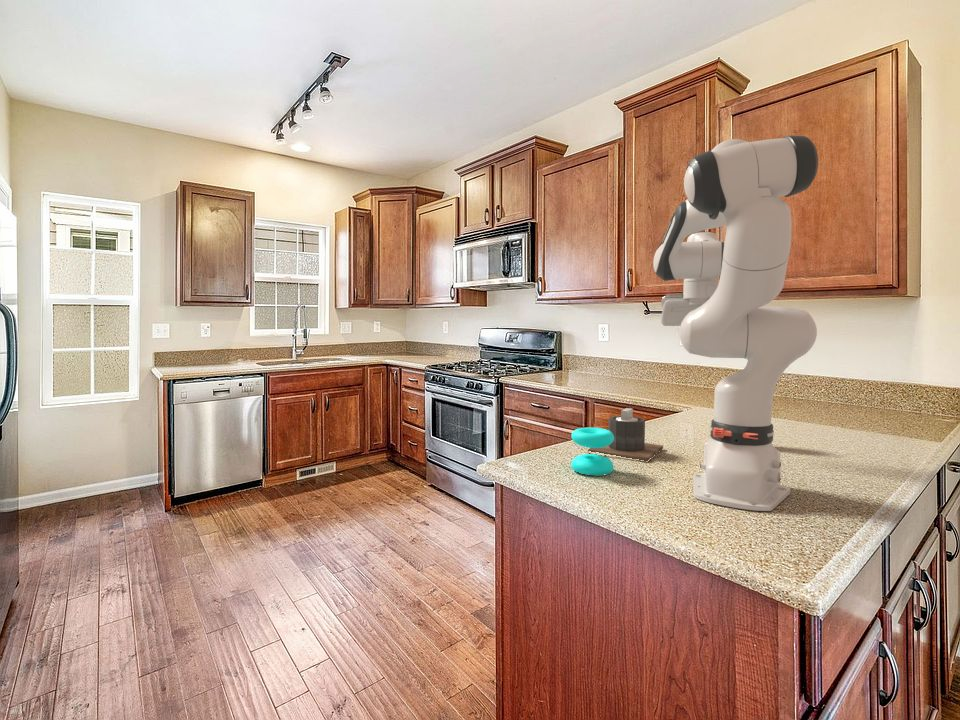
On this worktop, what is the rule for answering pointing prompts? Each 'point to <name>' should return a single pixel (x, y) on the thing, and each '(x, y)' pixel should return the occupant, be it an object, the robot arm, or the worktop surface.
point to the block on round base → (627, 415)
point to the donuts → (592, 462)
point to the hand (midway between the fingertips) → (699, 342)
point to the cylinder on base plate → (629, 440)
